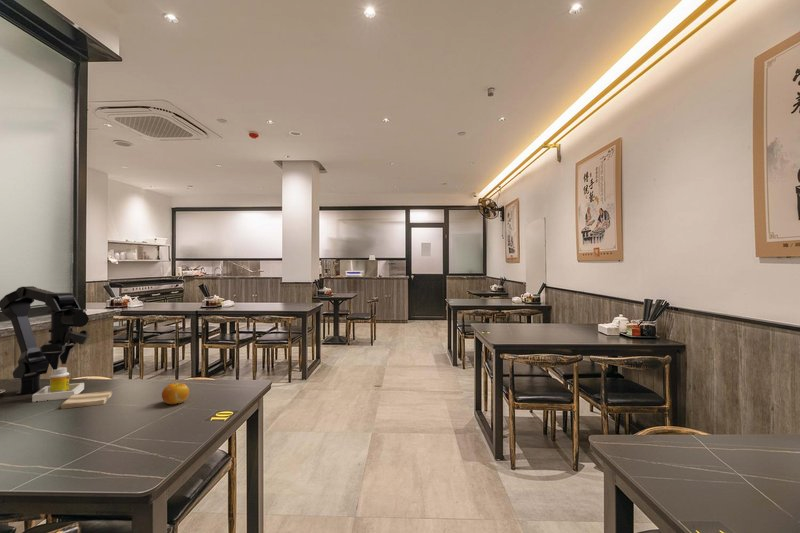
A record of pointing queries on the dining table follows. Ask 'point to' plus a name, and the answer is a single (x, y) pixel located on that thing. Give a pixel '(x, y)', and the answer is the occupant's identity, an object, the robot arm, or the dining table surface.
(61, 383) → the supplement bottle
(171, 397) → the fruit
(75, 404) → the oak serving board
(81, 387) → the grey tray
